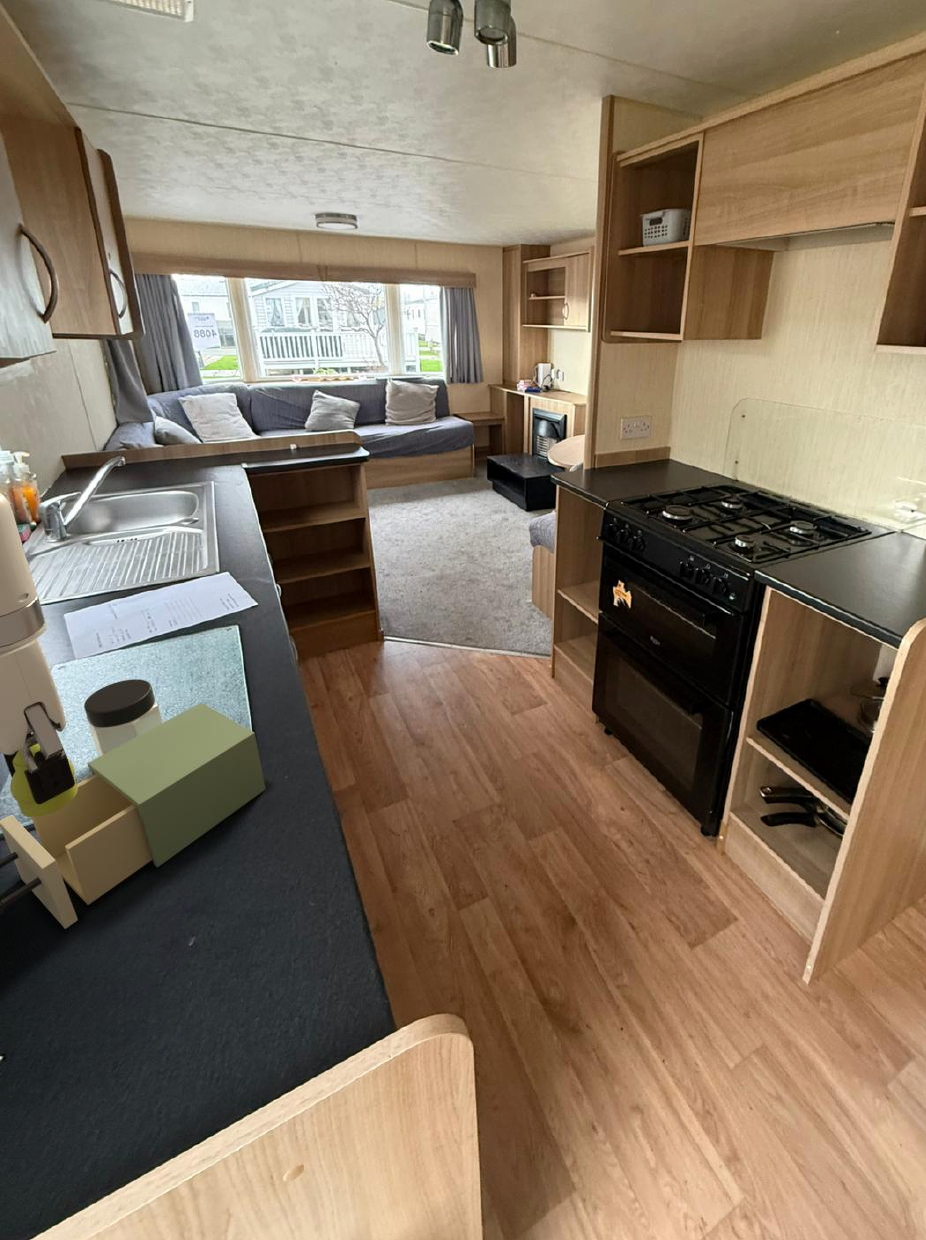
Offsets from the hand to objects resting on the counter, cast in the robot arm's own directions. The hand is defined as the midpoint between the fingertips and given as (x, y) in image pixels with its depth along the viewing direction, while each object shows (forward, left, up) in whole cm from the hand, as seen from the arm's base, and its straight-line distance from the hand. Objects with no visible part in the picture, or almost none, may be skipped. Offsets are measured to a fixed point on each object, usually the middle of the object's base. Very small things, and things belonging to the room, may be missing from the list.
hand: (43, 780), depth 58 cm
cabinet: (-5, +14, -19) cm, 24 cm away
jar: (-21, +15, -19) cm, 31 cm away
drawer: (-5, +2, -18) cm, 18 cm away
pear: (0, 0, -2) cm, 2 cm away
